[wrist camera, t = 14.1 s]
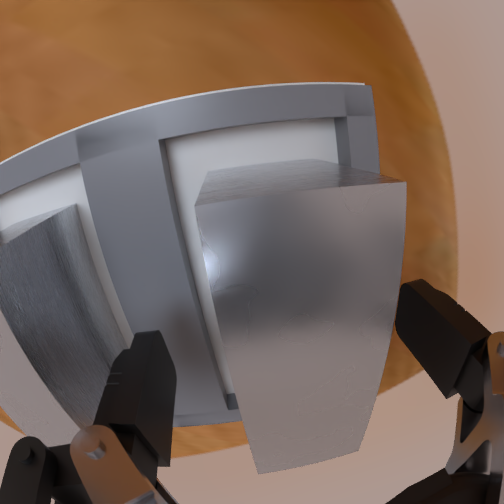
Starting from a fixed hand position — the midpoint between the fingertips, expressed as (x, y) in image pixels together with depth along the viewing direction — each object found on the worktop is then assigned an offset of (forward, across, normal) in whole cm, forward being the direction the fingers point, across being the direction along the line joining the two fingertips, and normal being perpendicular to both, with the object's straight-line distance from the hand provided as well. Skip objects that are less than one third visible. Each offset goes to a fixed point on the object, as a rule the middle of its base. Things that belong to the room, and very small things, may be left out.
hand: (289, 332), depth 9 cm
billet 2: (+4, 0, 0) cm, 4 cm away
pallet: (+5, +5, 0) cm, 7 cm away
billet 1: (+4, +9, 0) cm, 10 cm away
